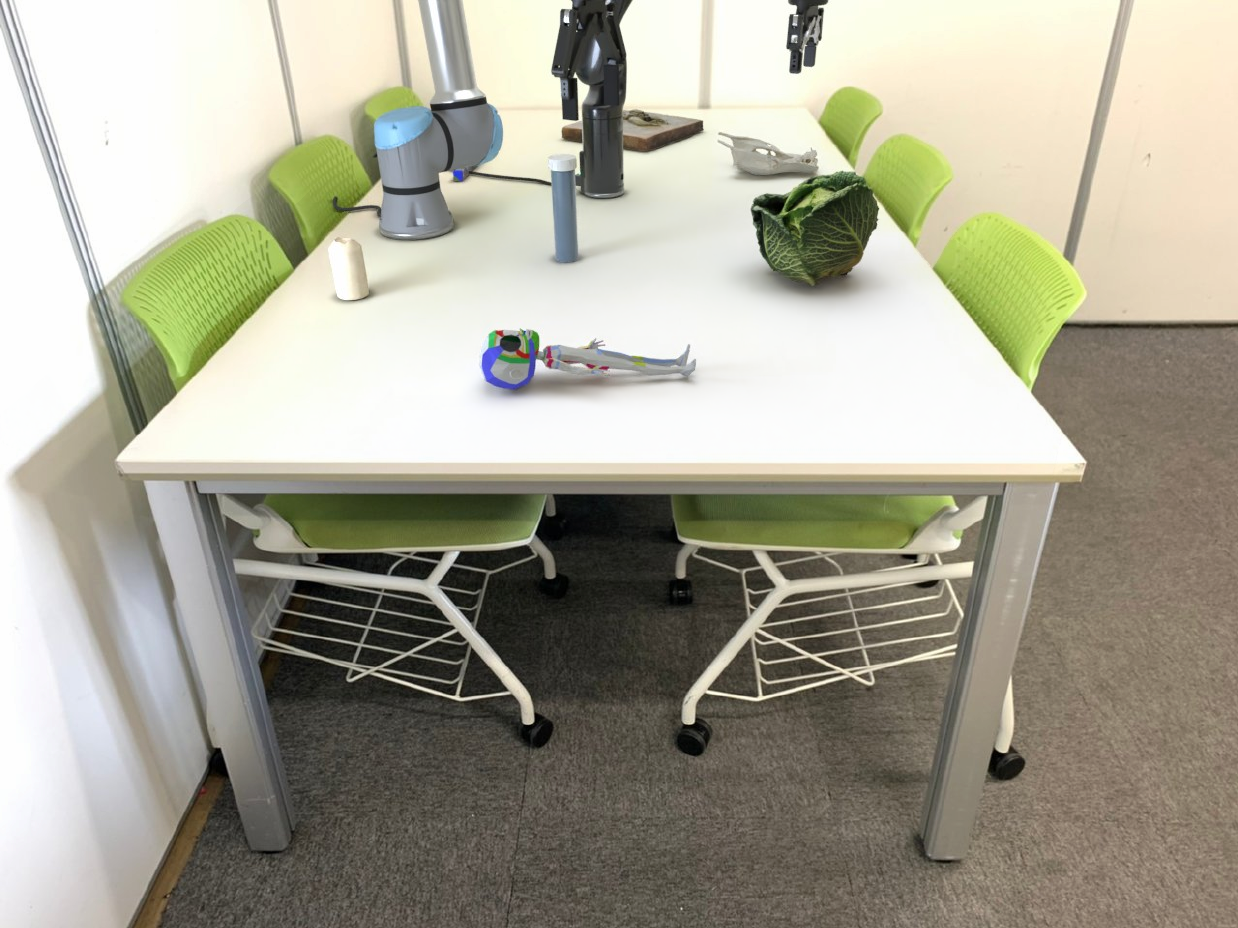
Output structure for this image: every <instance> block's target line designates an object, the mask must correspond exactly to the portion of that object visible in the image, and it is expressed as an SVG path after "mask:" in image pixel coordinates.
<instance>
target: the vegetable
mask: <svg viewBox="0 0 1238 928" xmlns="http://www.w3.org/2000/svg"><path fill="white" fill-rule="evenodd" d="M856 172H857V171H844V170H840V171H835V172H833V173H832V174H821V175H817V176H812V177H809V178H808V179H805V180H804V181H802V182H801V183H799V184H798V185H797V186H794V187H793V188H792V189H791V190H790V191H789V192H787V193H784V194H779V193H769V192H766V193H764V194H761V195H759V196H756V197H754V199H753V200H752V204H751V207H750V208H749V209H750V213H751V217H752V225H753V226H754V228H755V229H756V232H755V236H756V238H757V244H758V246H759V253H760V255H761V257H762V258H763V259H764V260H765V262H766V264H767V265H768V267H769V268H770V269H771V270H772V271H773V272H779V273H780V274H781V275H782V276H783V277H786V278H788V279H789V280H791V281H795V282H797V283H806V284H809V285H810V286H811V287H814V286H815V285H819V282H818V280H820V279H822V278H826V277H827V278H828V277H833V278H837V277H838V276H848V273H850V272H852V270H853V269H854V267H855V266H857V265H858V264H859V263H860V262H861V261H862V259H863V256H864V254H865V253H864V252H865V250H866V248H867V246H868V243H869V241H870V237H871V236H872V233H873V232H874V231H875V230H876V229H877V227H878V221H879V219H880V218H878V216H879V210H880V207H879V205H878V201H877V199H876V198H875V196H874V191H873V190H872V187H869V186H868V184H867V180H866V179H865V177H864V176H861V175H859V174H857V173H856Z"/></svg>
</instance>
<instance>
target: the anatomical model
mask: <svg viewBox="0 0 1238 928" xmlns="http://www.w3.org/2000/svg"><path fill="white" fill-rule="evenodd" d="M717 134H718V136H723V137H726V138H728V139H730V140H731V142H732V145H730V144H728V143H726V142H725V141H723V140H720V139H717V140H716V142H717V143H719V144H721V145H723V146H725V147H727V148H729V150H730V153H731V156H732V164H733V165H732V166H734V167H737V170H738V171H740V172H748V173H749V174H751V175H754V176H771V175H777V174H781V173H803V174H809V173H814V172H817V171H819V169H820V167H819V165H818V163H819V158H817V156H818V152H817V150H816V149H813V148H812V146H810V151H806V152H804V153H803V154H800V153H799V154H798V153H788V152H784V151H782V150H780V148H779V147H777V146H776V145H774V144H772V143H769V142H767V141H765V140H761V139H758V138H753V137H749V136H739V135H733V134H729V133H725V132H723V131H718V133H717ZM758 150H765V151H767V153H766V154H764V153H762V152H760V151H758ZM771 152H773V153H774V155H773V154H772V153H771Z"/></svg>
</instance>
